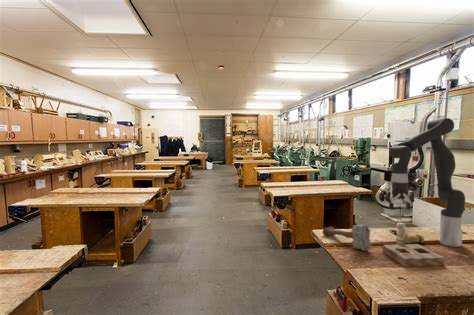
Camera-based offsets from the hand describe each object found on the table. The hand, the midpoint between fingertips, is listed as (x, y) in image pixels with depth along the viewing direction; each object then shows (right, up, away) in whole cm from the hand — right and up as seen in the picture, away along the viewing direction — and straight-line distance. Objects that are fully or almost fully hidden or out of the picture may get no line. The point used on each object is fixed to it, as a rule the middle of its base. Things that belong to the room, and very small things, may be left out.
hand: (399, 209), depth 135 cm
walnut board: (-2, -23, -12) cm, 26 cm away
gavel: (+14, -22, +17) cm, 31 cm away
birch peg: (+1, -22, +2) cm, 23 cm away
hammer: (-26, -23, +9) cm, 36 cm away
